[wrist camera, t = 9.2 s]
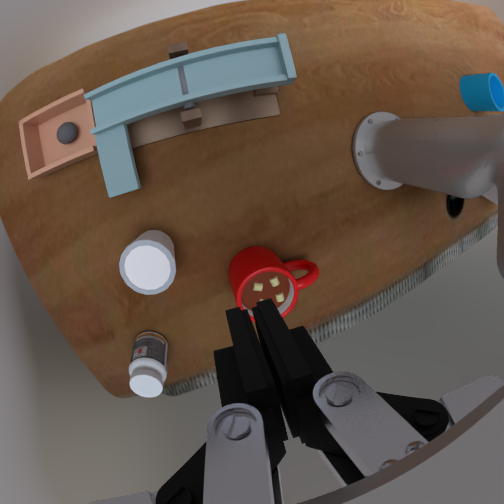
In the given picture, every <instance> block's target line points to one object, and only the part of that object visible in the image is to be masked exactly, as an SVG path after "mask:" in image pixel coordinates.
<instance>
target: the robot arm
mask: <svg viewBox="0 0 504 504" xmlns="http://www.w3.org/2000/svg"><path fill="white" fill-rule="evenodd" d="M352 150H353V157H354V161H355V165H356V167H357V169H358V171H359V173H360V174H361V176H362V177H363V178H364V179H365V180H366V182H368V183H369V184H370V185H372V186H374V187H376V188H379V189H383V190H392V189H396V188H398V187H400V186H401V185H403V184H407V185H411V186H416V187H420V188H425V189H429V190H433V191H437V192H441V193H445V194H449V195H452V196H456V197H460V198H465V199H472V198H477V197H479V196H481V195H483V194H485V193H486V192H487V191H489V190H490V189H491V188H492V187H493V186H494V185H496V187H497V195H498V236H497V265H498V269H499V272H500V274H501V276H502V278H503V279H504V114H502V115H492V116H475V117H434V118H414V119H400V118H399V117H397V116H396V115H394V114H392V113H389V112H375V113H371V114H369V115H367V116H366V117H365V118H363V119H362V120H361V121H360V123H359V124H358V126H357V128H356V130H355V133H354V137H353V146H352ZM256 304H257V306H256V307H252V312H253V316H254V320H255V324H256V328H257V332H258V336H259V340H258V337H257V334H256V332H255V329H254V326H253V324H252V321H251V318H250V315H249V313H248V310H247V309H245V310H241V308H240V307H237V308H233V309H229V310H225V311H226V316H227V320H228V324H229V329H230V333H231V337H232V342H233V346H231V347H227V348H223V349H219V350H215V351H214V359H215V366H216V372H217V379H218V385H219V391H220V398H221V404H222V408H220V409H219V410H217V411H216V412H215V413H214V414H213V415H212V417H211V418H210V419H209V422H208V426H207V440H206V442H205V444H203V446H202V447H201V448H200V449H199V450H198V451H197V452H196V453H195V454H194V455H193V456H192V457H191V458H190V459H189V460H188V461H187V462H186V463H185V464H184V465H183V466H182V467H181V468H180V469H179V470H178V471H177V472H176V473H175V474H174V475H173V476H172V477H171V478H170V479H169V480H168V481H167V482H166V483H165V484H164V485H163V486H162V487H161V488H160V489H159V491H157V492H153V493H150V492H149V491H145V492H141V493H136V494H132V495H127V496H121V497H116V498H110V499H103V500H96V501H93V502H91V503H90V504H284V500H283V492H282V485H281V477H280V470H279V465H278V464H279V462H280V461H281V460H282V458H283V457H284V455H285V453H286V450H285V446H284V443H283V441H285V440H288V436H287V432H286V428H285V423H284V419H283V415H282V411H283V413H284V416H285V418H286V421H287V424H288V426H289V429H290V431H291V434H292V436H293V438H295V437H298V436H299V437H300V439H301V442H302V444H303V443H305V444H306V446H308V447H311V448H314V449H317V450H318V452H319V454H320V456H321V457H322V459H323V460H324V461H325V463H326V464H327V466H328V467H329V468H330V470H331V471H332V473H333V474H334V475H335V477H336V478H337V479H338V481H339V482H340V483H341V485H342V486H343V488H341V489H338V490H336V491H333V492H330V493H328V494H325V495H322V496H319V497H317V498H313V499H310V500H307V501H304V502H301V503H298V504H504V382H503V381H502V379H501V378H498V377H496V376H490V375H489V376H486V377H483V378H481V379H479V380H477V381H475V382H473V383H471V384H468V385H466V386H464V387H462V388H459V389H457V390H455V391H453V392H450V393H448V394H445V395H443V396H441V398H440V400H437V401H434V400H431V399H422V398H414V397H406V396H400V395H393V394H387V393H380V392H375V391H374V390H373V389H372V388H371V387H370V386H369V385H368V384H367V383H366V382H365V381H364V380H363V379H362V378H360V377H359V376H357V375H356V374H353V373H350V372H334V373H333V371H332V370H331V368H330V366H329V365H328V364H327V362H326V360H325V359H324V357H323V355H322V354H321V352H320V351H319V349H318V348H317V346H316V344H315V343H314V341H313V340H312V338H311V337H310V335H309V334H308V332H307V330H306V329H305V328H304V326H300V327H297V328H294V329H290V330H289V329H288V327H287V325H286V323H285V322H284V320H283V318H282V316H281V314H280V313H279V311H278V309H277V307H276V305H275V304H274V302H273V300H272V298H269V299H266V300H262V301H259V302H256ZM259 341H260V343H259ZM280 405H281V406H280ZM281 408H282V411H281Z"/></svg>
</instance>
